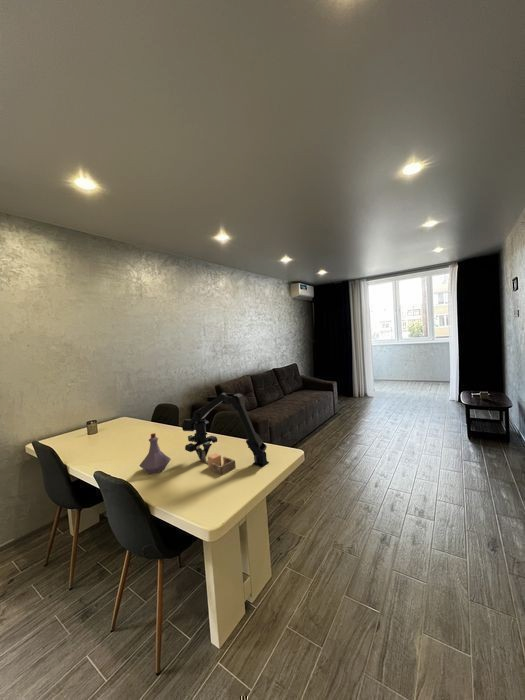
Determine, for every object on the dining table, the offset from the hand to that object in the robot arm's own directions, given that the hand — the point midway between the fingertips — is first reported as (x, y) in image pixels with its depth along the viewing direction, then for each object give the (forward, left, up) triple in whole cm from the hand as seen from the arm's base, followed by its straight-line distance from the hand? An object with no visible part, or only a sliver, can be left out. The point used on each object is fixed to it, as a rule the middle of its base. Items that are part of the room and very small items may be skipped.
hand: (202, 457), depth 154 cm
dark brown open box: (-18, 0, -2) cm, 18 cm away
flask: (+13, +22, -2) cm, 26 cm away
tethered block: (-7, 0, -2) cm, 7 cm away
